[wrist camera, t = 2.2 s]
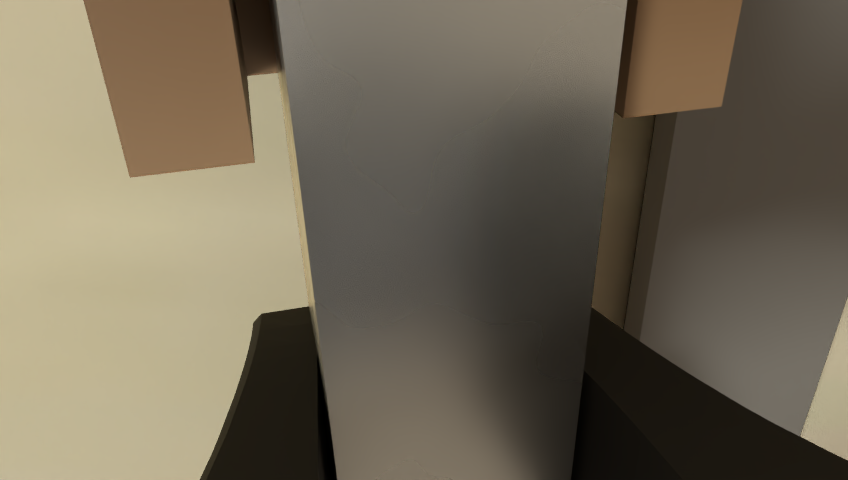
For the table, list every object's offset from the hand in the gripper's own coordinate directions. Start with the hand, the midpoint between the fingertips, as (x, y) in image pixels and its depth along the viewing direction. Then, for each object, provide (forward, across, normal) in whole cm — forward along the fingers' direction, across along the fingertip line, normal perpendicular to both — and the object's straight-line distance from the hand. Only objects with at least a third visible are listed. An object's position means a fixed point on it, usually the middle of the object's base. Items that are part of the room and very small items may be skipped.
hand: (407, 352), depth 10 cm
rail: (0, 0, 0) cm, 0 cm away
